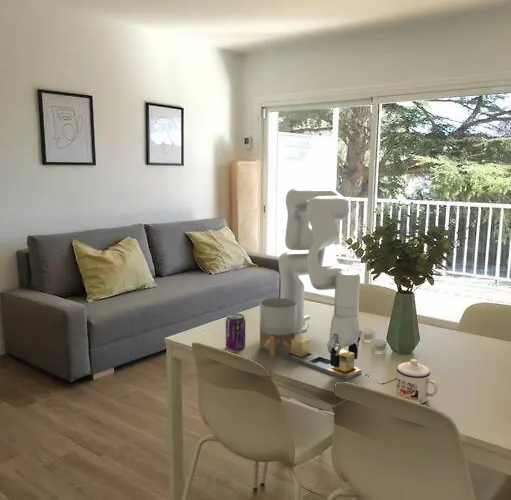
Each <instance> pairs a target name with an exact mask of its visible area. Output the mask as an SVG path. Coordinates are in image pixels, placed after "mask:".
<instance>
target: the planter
mask: <svg viewBox="0 0 511 500" xmlns="http://www.w3.org/2000/svg"><path fill="white" fill-rule="evenodd" d="M296 313H297V303H296V301H294V300H291V299H287V298H280V297H268V298H264V299H262V300H260V301H259V348H260V349H264V348H265V345H266V343H267V341H268V340H269V356H270V357H275V356H276V349H277V345H278V341H279V345H280V346H284V345H285V343H287V345H288V346H289V349H290V350H291V340H292V339H294V338H297V333H296Z"/></svg>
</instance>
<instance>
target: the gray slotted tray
mask: <svg viewBox="0 0 511 500" xmlns="http://www.w3.org/2000/svg"><path fill="white" fill-rule="evenodd" d="M283 358H284V359H287V360H290V361H293V362H295V363H298V364H301V365H304V366H307V367H308V368H312V369H315V370H317V371H320V372H322V373H325V374H328V375H331V376H333V377H336V378H338V379H342V380H344V381H349V380H351V379H353V378H355V377H357V376H359V375H360V374H362V369H361V368H359V367H356V366H354V371H352V372H350V373H348V374H343V373H341V372H338V371H335V370H334V366H331V365H330V358H329V357H327V356H323V355H320V354H317V353H314V352H311V351H310V356H307V357H305V358H302V359H301V358H298V357H295V356H292V355H291V350H290V351H288V352H286V353H284V354H283Z"/></svg>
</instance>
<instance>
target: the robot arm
mask: <svg viewBox="0 0 511 500" xmlns="http://www.w3.org/2000/svg"><path fill="white" fill-rule="evenodd" d="M347 201H348V200H347V199H346V198H345V197H344V195H342V194H340V193H339V192H337V191H336V190H334V189H332V188H329V187H297V188H292V189H290V190H288V192H287V194H286V197H285V207H286V210H287V221H286V228H285V229H286V230H285V238H284V240H285V241H284V242H285V243H284V244H285V247H286V248H287V249H288V250H289V251H286V252H283V253H282V254H281V255H279V257H278V270H279V278H280V287H279V288H280V297H279V298H287V299H291V300H294V301H296V303H297V313H296V334H299V333H304V332H305V331H307V329H308V326H307V324H306V323H305V322H306V321H309V320H311V316H310V315H308V314H307V315H304V314H305V311H304V310H305V285H304V283H303V281H302V280H301V279H300V277H299V276H307V275H308V276H309V280H310V284H311V285H312V287H313V288H314V289H316V290H318V291H324V290H326V291H327V290H334V306H333V315H332V317H331V323H330V329H329V340H328V342H327V343H326V346H327V350H328V352H329V354H330V356H329V357H330V358H329V359H330V365H331V366H334V367H337V368H338V367H340V355H339V353H340V351H341V350H342V349H345V348H347V347H348V349H347V351H349V352H352V353H355V355H354V360H358V355H359V353H358V351H359V346H360V340H361V337H362V334H363V332H362V330H360V320H359V311H360V310H359V306H360V287H361V286H360V284H361V275H360V274H359V273H358V272H357V271H355V270H353V269H352V268H351V267H350V266H348V265H324V266H323V263H324V257H325V256H324V255H325V251H326V247H329V246H330V245H331V246H332V245H333V244H334V243H336V242H337V241H338V240H339V239H340V234H339V229H338V226H337V222H336V221H343V220H345V219H346V218H347V217H348V216H349V211H350V209H349V203H348V202H347Z"/></svg>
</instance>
